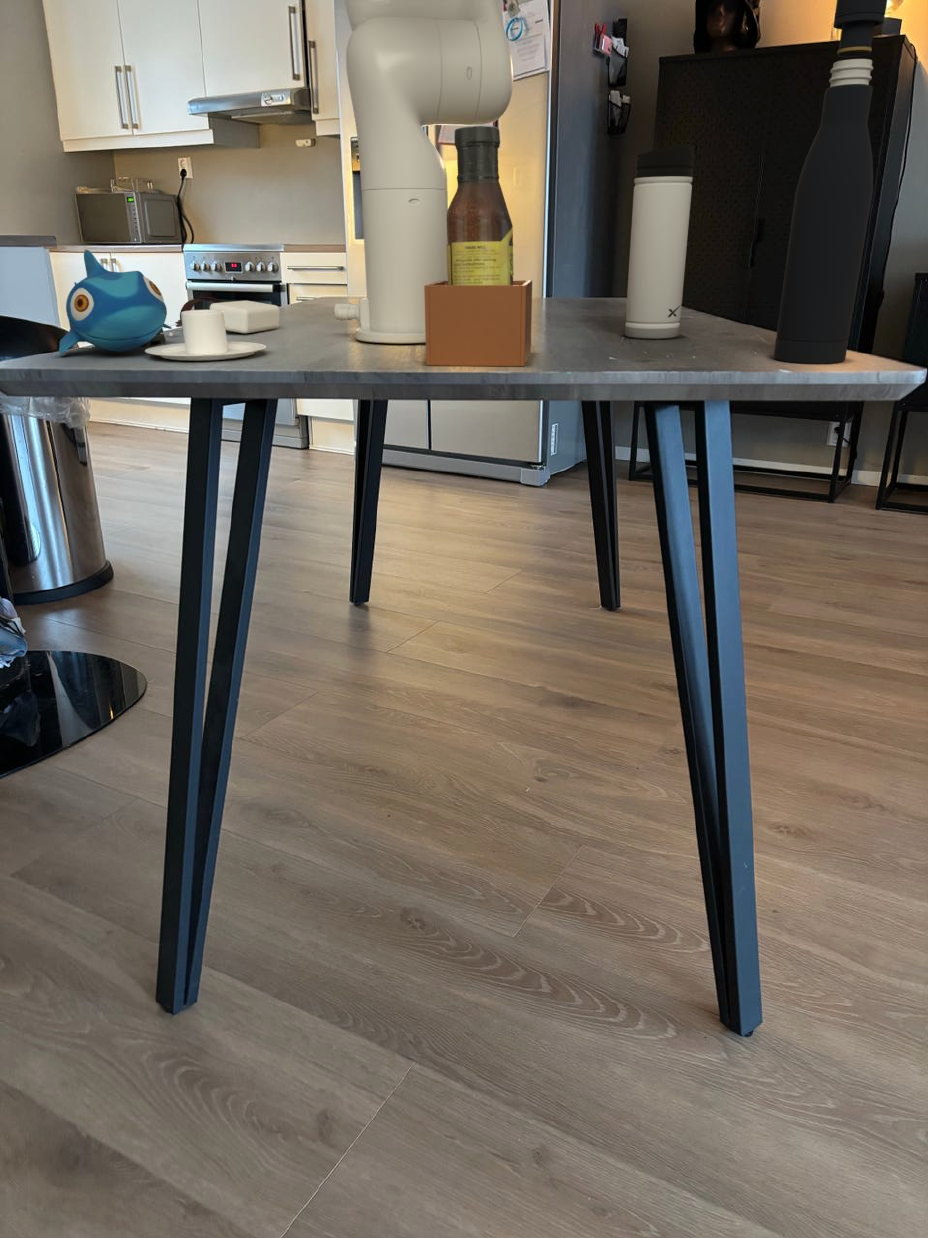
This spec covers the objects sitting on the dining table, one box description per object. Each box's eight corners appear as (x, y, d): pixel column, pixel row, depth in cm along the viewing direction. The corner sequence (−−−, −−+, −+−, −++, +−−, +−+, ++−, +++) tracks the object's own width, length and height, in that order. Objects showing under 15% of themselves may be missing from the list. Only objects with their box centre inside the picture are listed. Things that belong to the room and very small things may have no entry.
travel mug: (686, 339, 99) (704, 140, 91) (629, 339, 100) (641, 141, 91) (675, 333, 105) (691, 145, 97) (621, 333, 105) (632, 146, 97)
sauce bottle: (525, 360, 84) (529, 124, 76) (467, 365, 81) (465, 121, 73) (493, 353, 89) (494, 132, 81) (437, 357, 86) (433, 129, 78)
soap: (207, 302, 107) (207, 327, 109) (246, 309, 106) (246, 334, 108) (244, 299, 115) (244, 323, 117) (281, 305, 114) (281, 329, 115)
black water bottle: (781, 363, 80) (834, -32, 68) (767, 354, 86) (814, -11, 74) (853, 364, 80) (920, -36, 67) (834, 355, 85) (893, -14, 73)
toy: (85, 366, 83) (46, 254, 79) (41, 359, 97) (6, 264, 93) (203, 338, 89) (173, 232, 85) (146, 335, 103) (117, 245, 99)
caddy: (426, 365, 81) (424, 285, 78) (441, 352, 90) (440, 280, 87) (524, 366, 80) (525, 285, 77) (530, 353, 89) (532, 280, 86)
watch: (174, 333, 109) (196, 342, 108) (176, 295, 107) (199, 304, 106) (216, 327, 116) (237, 336, 115) (219, 291, 113) (241, 300, 112)
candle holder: (263, 361, 85) (259, 314, 83) (135, 364, 83) (128, 317, 81) (269, 347, 96) (265, 305, 94) (156, 350, 94) (150, 307, 92)
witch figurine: (221, 318, 117) (216, 304, 116) (190, 330, 106) (184, 315, 106) (186, 330, 118) (180, 316, 117) (151, 343, 107) (144, 328, 107)
